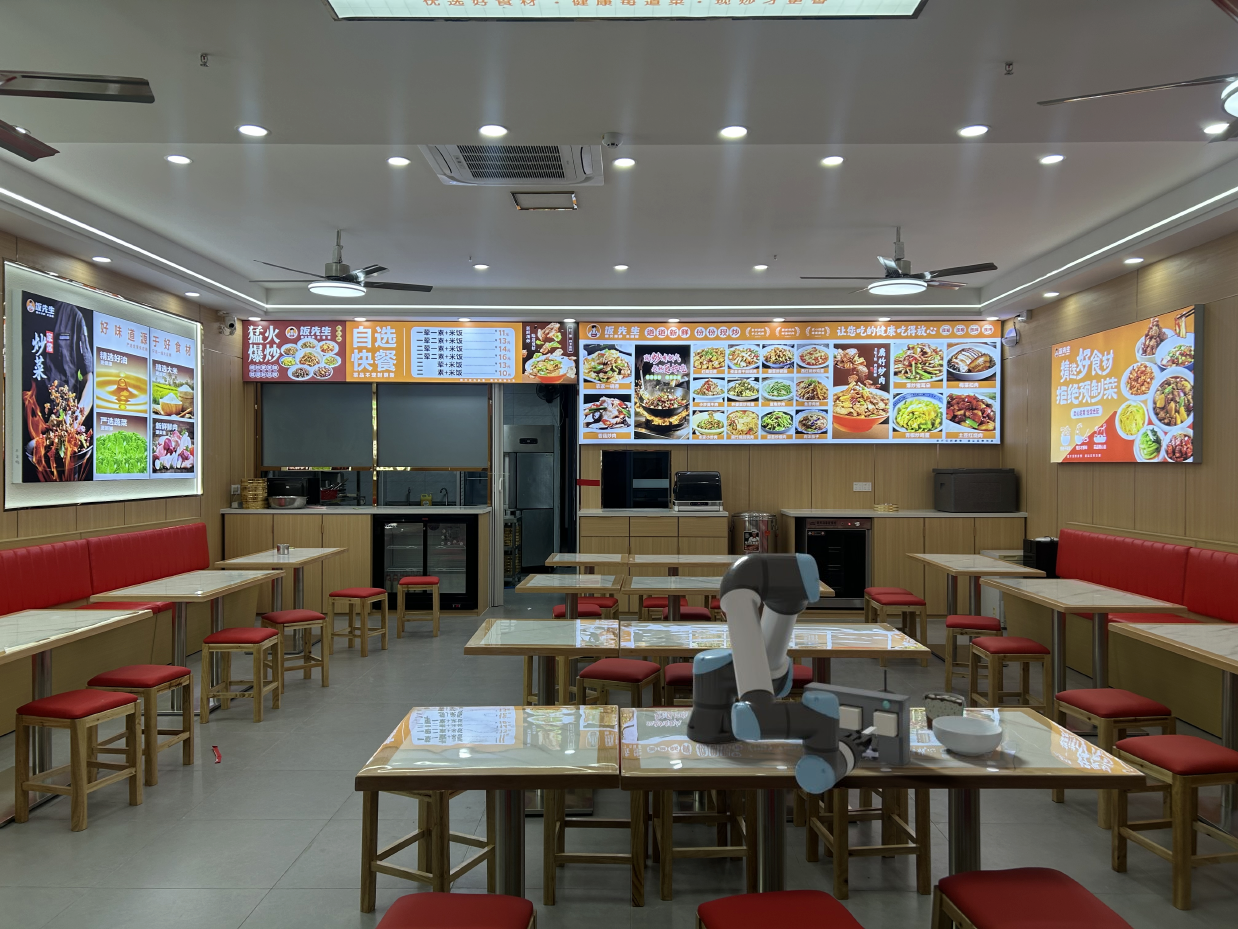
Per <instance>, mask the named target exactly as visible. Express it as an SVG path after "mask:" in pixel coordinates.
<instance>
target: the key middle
mask: <svg viewBox="0 0 1238 929" xmlns="http://www.w3.org/2000/svg"><path fill="white" fill-rule="evenodd" d="M839 715H840V724H839V727H840V728H846V729H852V730H860V729H861V728H863V707H857V706H851V705H845V704H844V705H842V706H841V707H839Z"/></svg>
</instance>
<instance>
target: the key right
mask: <svg viewBox="0 0 1238 929" xmlns="http://www.w3.org/2000/svg"><path fill="white" fill-rule="evenodd" d="M874 727H877V734H880V735H886V736H891V737H894V736H896V735H897V734H898V733H899V713H895V712H889V711H883V710H878V711H876V712H875V713H874Z"/></svg>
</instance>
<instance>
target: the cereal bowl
mask: <svg viewBox="0 0 1238 929" xmlns="http://www.w3.org/2000/svg"><path fill="white" fill-rule="evenodd" d="M932 724H933V725H932V727H933V730H932V733H933V735H934V737H935V739H936V740H937V741H938V743H939V744H941V746H943V747H946V748H947V749H950V751H951V752H953V753H955V754H958V755H961V756H969V757H978V756H982V755H983V754H987V753H990V752H993V751H995V750H996V749H998V748H999V746H1000V745H1001V743H1002V739H1003V729H1002V726H1000V725H998V724H997V723H995V722H992V721H989V720H985V719H981V718H976V717H971V716H964V715H963V716H945V717H939V718H936V719H934V720H933V723H932Z"/></svg>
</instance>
